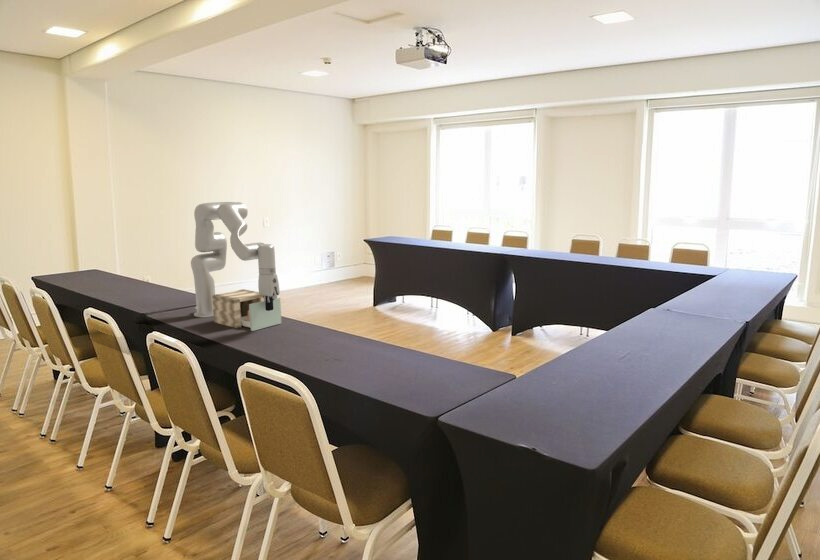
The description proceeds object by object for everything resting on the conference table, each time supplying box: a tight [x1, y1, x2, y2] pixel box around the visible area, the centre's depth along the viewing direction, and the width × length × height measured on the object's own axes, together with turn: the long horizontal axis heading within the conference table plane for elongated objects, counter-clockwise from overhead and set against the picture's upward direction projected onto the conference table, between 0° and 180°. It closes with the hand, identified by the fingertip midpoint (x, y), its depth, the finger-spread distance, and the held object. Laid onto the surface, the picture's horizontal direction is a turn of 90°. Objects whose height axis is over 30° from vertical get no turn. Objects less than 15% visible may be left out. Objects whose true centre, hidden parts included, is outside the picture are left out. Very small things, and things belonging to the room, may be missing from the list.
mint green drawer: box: [241, 297, 282, 332], centre depth 275 cm, size 17×17×12 cm
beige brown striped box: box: [212, 288, 264, 329], centre depth 282 cm, size 18×18×14 cm
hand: (269, 310), depth 267 cm, fingers closed
